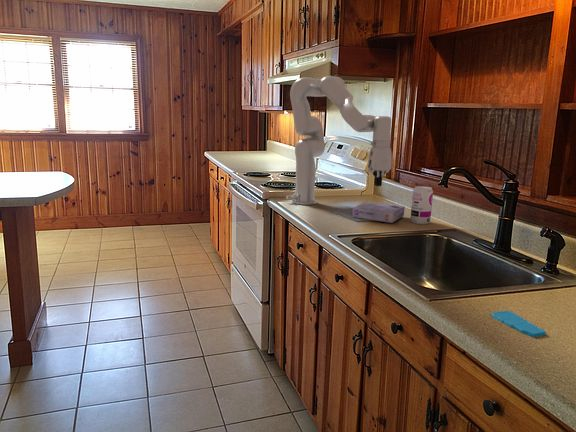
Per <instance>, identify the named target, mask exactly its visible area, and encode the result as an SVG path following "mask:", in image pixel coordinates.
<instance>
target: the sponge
mask: <svg viewBox="0 0 576 432" xmlns="http://www.w3.org/2000/svg"><path fill="white" fill-rule="evenodd" d="M490 316H491V317H492V318H493V319H495V320H496V319H497V320H496V321H498V322H501V323H503V324H504V323H505V324H504V325H506V326H508V327H510V328H512V327H513V328H512V329H513V330H514V329H515V330H516V331H518V332H519V331H520V333H521V332H522V334H524V335H527V336H529V337H532V338H537V336H538V337H543V335H545V336H546V335H547V333H546V331H545V330H544V329H542V328H541V327H538V326H537V325H536V324H534V323H532V322H530V321H528V320H527V319H525V318H523V317H521V316H520V315H518V314H516V313H515V312H512V311H511V310H503V311H502V310H501V311H500V310H499V311H495V312H492V313H490Z"/></svg>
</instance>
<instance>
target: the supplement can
mask: <svg viewBox="0 0 576 432" xmlns="http://www.w3.org/2000/svg"><path fill="white" fill-rule="evenodd" d="M433 190H434V189H433V188H432V187H430V186H424V185H422V186H414V188H413V190H412V196H411V207H410V208H411V209H410V210H411V211H410V219H409V220H410V221H411V222H412V223H414V224H416V225H417V224H418V225H427V224H429V223H430V222H431V218H432V208H433V198H434V191H433Z"/></svg>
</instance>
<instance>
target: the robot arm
mask: <svg viewBox="0 0 576 432" xmlns="http://www.w3.org/2000/svg"><path fill="white" fill-rule="evenodd" d="M307 97H313V98H314V97H316V98H317V97H320V98H321V97H326V98H327V99H328V100H330V101H331V102H332V104H333V105H334V106H336V108H337V109H338V110H339V113H340V115H341V117H342V118H343V120H344V121H345V122H346V124H347V125H349V126H350V127H351V128H352V130H354V131H356V132H357V133H371V132H372V141H371V142H370V145H371V147H370V150H369V156H368V159H367V160H368V161H367V169H368V171H367V172H368V173H369V174H372V175H373V177H374V182H373V183H374V184H373V185H374V186H376V187H381V186H382V183H383V178H384V176H385V174H387V173H389V172H390V170H392V164H393V163H392V162H393V161H392V160H393V159H392V158H393V155H392V153H393V152H392V148H391V147H390V144H391V142H390V141H391V131H392V130H391V129H392V118H391V116H386V115H373V114H372V115H371V114H363V113H362V112H360V111H359V109H357V108H356V106H355V105H354V103H353V101H354V96H353V94H352V93H351V92H349V90H347V88H346V82H345V81H344V79H343V78H342V77H338V76H333V75H327V76H326V75H325V76H324V77H323V78H314V77H299V78H298V79H296V80H295V81H293V84H292V85H291V87H290V91H289V99H290V103H291V108H292V118H293V124H294V130H295V132H296V134H297V135H299V136H302V137H305V136H306V138H302V139H299V140H298V141H297V142H296V144H295V146H294V155H295V164H296V165H295V188H294V189H295V190H294V192H293V194H292V195H290V194H289V195H288V194H287V195H286V196H285V198H286V200H291V203H293V204H296V205H305V206H310V205H316V204H317V203H318V200H317V199H315V190H316V162H315V161H316V160H315V158H317V157H320V156H322V155H323V154H324V152H325V150H326V144H325V136H324V129H323V128H324V127H323V124H322V121H321V120H320V118H318V117H317V116H315V115H312V113H311V106H310V102H309V101H308V99H307Z"/></svg>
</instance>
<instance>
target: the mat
mask: <svg viewBox="0 0 576 432" xmlns="http://www.w3.org/2000/svg"><path fill="white" fill-rule="evenodd" d="M330 212H331V213H334V214H336V215H339V216H341V217H344V218H346V219H348V218H349V219H348V220H351V221H354V222H356V221H357V222H356V223H361V221H364V222H371V221H372V222H373V221H376V220H369V219H362V218H356V217H352V216H353V208H346V209H345V208H343V209H330Z"/></svg>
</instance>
